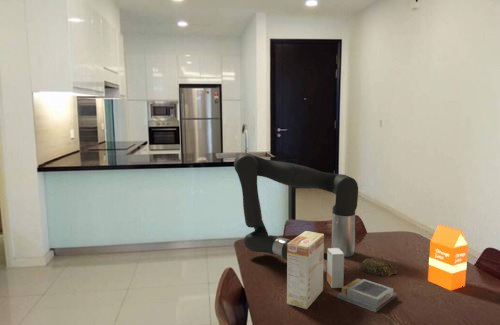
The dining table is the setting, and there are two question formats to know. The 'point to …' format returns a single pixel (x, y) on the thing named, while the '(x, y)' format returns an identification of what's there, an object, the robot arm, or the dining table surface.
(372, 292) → the jig
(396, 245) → the dining table surface
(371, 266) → the bread roll
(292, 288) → the coffeecake box
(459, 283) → the orange juice
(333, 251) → the skincare box
